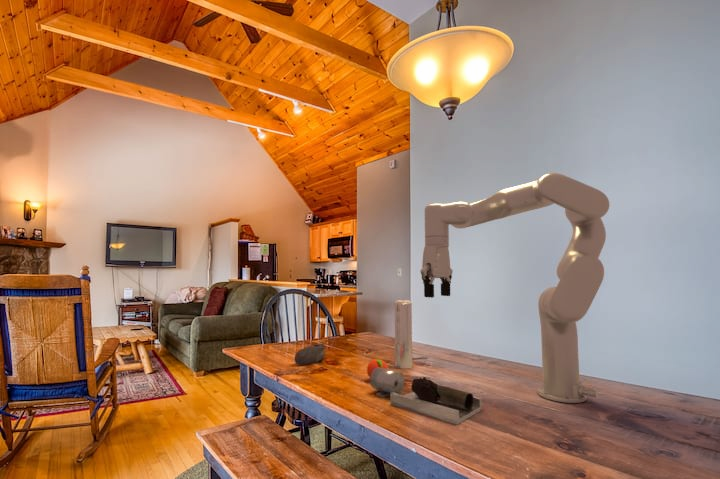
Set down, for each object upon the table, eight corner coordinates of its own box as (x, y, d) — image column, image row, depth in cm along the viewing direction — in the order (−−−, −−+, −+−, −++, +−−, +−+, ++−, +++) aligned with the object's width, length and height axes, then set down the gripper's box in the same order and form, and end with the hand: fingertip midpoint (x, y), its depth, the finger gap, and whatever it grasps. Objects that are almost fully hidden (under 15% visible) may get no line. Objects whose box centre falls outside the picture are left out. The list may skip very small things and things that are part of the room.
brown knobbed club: (474, 408, 98) (473, 386, 99) (461, 415, 93) (460, 392, 94) (418, 392, 111) (418, 372, 111) (404, 398, 106) (403, 377, 106)
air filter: (392, 365, 146) (392, 300, 149) (407, 364, 148) (407, 299, 150) (399, 369, 140) (398, 301, 142) (415, 368, 142) (414, 300, 144)
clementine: (392, 383, 123) (392, 360, 124) (373, 385, 121) (373, 362, 121) (382, 376, 131) (382, 355, 131) (363, 378, 128) (363, 357, 129)
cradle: (481, 409, 100) (481, 398, 100) (456, 424, 90) (456, 411, 90) (418, 393, 113) (418, 382, 113) (390, 404, 103) (390, 393, 104)
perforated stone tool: (298, 368, 142) (298, 349, 143) (290, 365, 146) (290, 347, 147) (329, 361, 153) (329, 343, 153) (320, 359, 157) (321, 342, 157)
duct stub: (405, 393, 113) (405, 369, 113) (390, 399, 107) (390, 374, 108) (384, 388, 118) (384, 365, 119) (369, 393, 113) (369, 369, 113)
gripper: (440, 244, 130) (441, 294, 129) (411, 241, 118) (412, 297, 116) (460, 243, 125) (461, 295, 124) (432, 240, 113) (433, 298, 111)
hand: (437, 296), depth 120 cm, fingers open, 9 cm apart
